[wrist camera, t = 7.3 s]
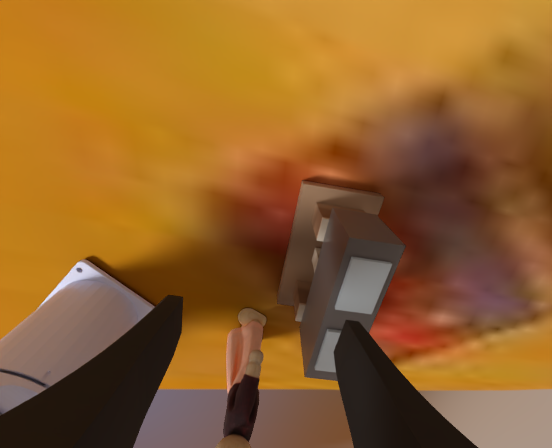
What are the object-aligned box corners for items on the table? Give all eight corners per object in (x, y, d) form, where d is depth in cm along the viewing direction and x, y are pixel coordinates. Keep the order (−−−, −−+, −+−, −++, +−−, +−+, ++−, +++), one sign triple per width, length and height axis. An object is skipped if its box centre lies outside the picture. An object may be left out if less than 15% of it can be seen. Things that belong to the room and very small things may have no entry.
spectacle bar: (334, 332, 20) (348, 384, 16) (299, 327, 20) (305, 380, 16) (376, 214, 16) (407, 247, 12) (332, 207, 16) (350, 239, 12)
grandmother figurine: (228, 298, 24) (184, 479, 12) (270, 300, 24) (265, 481, 12) (230, 356, 27) (195, 544, 15) (266, 358, 27) (259, 545, 15)
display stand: (340, 304, 24) (351, 340, 20) (277, 296, 24) (277, 330, 20) (379, 193, 20) (403, 212, 16) (302, 180, 19) (308, 197, 16)
